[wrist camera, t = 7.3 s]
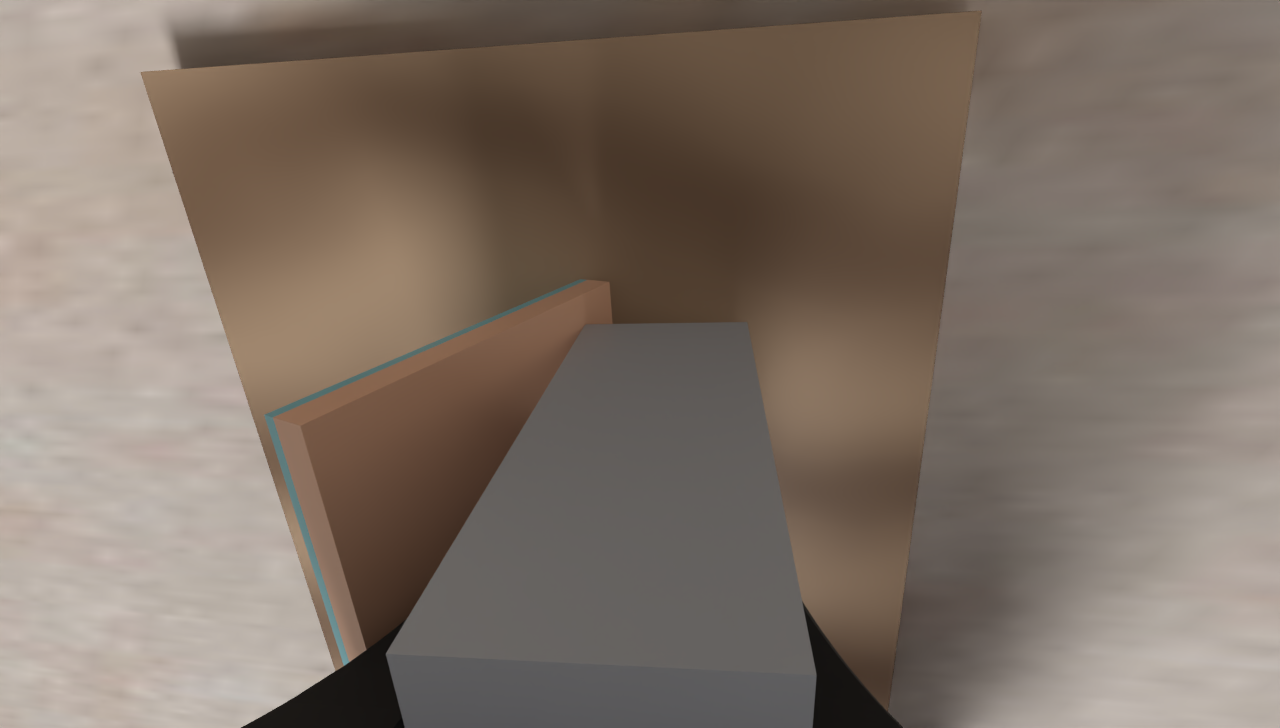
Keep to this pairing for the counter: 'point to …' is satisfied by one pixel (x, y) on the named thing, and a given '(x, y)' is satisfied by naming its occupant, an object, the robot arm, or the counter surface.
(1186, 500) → the counter surface
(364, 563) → the tile
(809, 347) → the board
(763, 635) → the grey rectangular block
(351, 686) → the robot arm
